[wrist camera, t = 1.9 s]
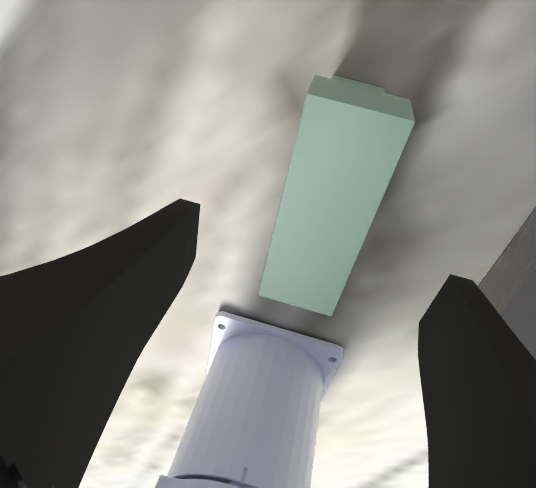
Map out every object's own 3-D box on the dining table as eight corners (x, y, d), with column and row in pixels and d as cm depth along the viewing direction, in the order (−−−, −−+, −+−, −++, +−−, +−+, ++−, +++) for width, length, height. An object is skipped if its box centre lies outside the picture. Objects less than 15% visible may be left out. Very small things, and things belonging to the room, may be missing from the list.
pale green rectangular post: (340, 242, 19) (331, 316, 16) (281, 226, 20) (258, 295, 16) (404, 74, 15) (414, 121, 11) (324, 54, 15) (307, 93, 11)
